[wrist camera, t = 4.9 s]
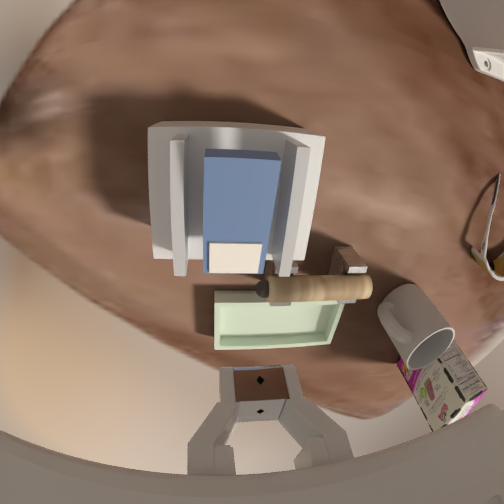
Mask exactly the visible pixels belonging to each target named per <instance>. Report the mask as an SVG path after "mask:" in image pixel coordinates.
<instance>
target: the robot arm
mask: <svg viewBox="0 0 504 504" xmlns="http://www.w3.org/2000/svg"><path fill="white" fill-rule="evenodd" d="M439 1H440V3H441V6H442V8H443V10H444V12H445V14H446V16H447V18H448V20H449V21H450V23H451V25H452V26H453V28H454V29H455V31H456V32H457V34H458V35H459V37H460V38H461V40H462V42H463V43H464V45H465V48H466V51H467V54H468V56H469V59H470V62H471V64H472V66H473V68H474V69H475V70H476V71H478V72H481V73H483V74H486V75H489V76H491V77H494V78H496V79H499V80H501V81H503V82H504V0H439ZM268 420H279V422H280V423H281V424H282V425H283V427H284V428H285V429H286V430H287V431H288V432H289V434H290V435H291V436H292V437H293V438H294V439H295V440H296V441H297V442H298V444H299V445H300V446H301V447H302V448H303V449H302V450H301V451H300V453H299V454H298V455H297V457H296V458H295V459H294V463H295V468H296V470H289V471H281V472H272V473H262V474H248V475H236V472H235V463H234V454H233V453H234V452H233V448H232V447H231V446H230V445H225V444H226V442H227V441H228V439H229V437H230V436H231V434H232V432H233V431H234V429H235V427H236V425H237V423H238V422H249V421H268ZM0 504H504V410H503V409H501V408H499V407H498V406H496V405H494V404H488V405H486V406H484V407H482V408H480V409H478V410H477V411H475V412H473V413H471V414H469V415H467V416H465V417H463V418H461V419H459V420H457V421H455V422H453V423H451V424H449V425H447V426H444V427H442V428H440V429H438V430H435V431H433V432H431V433H428V434H426V435H423V436H421V437H418V438H416V439H413V440H410V441H408V442H405V443H402V444H399V445H397V446H394V447H390V448H388V449H384V450H381V451H378V452H374V453H371V454H368V455H364V456H360V457H356V458H354V457H353V453H352V450H351V447H350V444H349V440H348V437H347V434H346V431H345V430H344V429H343V428H341V427H340V426H339V425H338V424H337V423H336V422H334V421H333V420H332V419H331V418H330V417H329V416H327V415H326V414H325V413H324V412H323V411H322V410H321V409H319V408H318V407H317V406H316V405H315V404H314V403H313V402H312V401H311V400H309V399H308V398H307V397H306V398H304V397H303V393H302V389H301V385H300V381H299V377H298V374H297V370H296V366H295V365H293V364H292V365H274V366H257V367H220V402H218V403H217V404H216V405H215V406H214V408H213V409H212V411H211V412H210V414H209V415H208V416H207V418H206V419H205V421H204V422H203V423H202V425H201V426H200V428H199V429H198V430H197V432H196V433H195V434H194V436H193V437H192V438H191V440H190V441H189V442H188V475H183V474H169V473H159V472H150V471H141V470H135V469H128V468H121V467H117V466H111V465H106V464H101V463H97V462H93V461H88V460H84V459H81V458H77V457H73V456H69V455H66V454H63V453H59V452H56V451H53V450H50V449H47V448H44V447H41V446H38V445H36V444H32V443H30V442H28V441H25V440H22V439H20V438H18V437H15V436H13V435H10V434H8V433H6V432H4V431H1V430H0Z"/></svg>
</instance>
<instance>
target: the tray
mask: <svg viewBox="0 0 504 504" xmlns="http://www.w3.org/2000/svg"><path fill="white" fill-rule="evenodd" d="M344 305H345V303H344V304H338V303H337V301H336V300H334V301H311V302H291V306H270V305H269V303H267V301H266V298H261V297H259V296H258V295H257V294H256V291H220V290H214V348H215V350H230V349H265V348H285V347H300V346H313V345H324V344H330V343H331V340H332V338H333V335H334V333H335V330H336V327H337V325H338V322H339V319H340V316H341V313H342V311H343V308H344Z"/></svg>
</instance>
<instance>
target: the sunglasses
mask: <svg viewBox="0 0 504 504" xmlns="http://www.w3.org/2000/svg"><path fill="white" fill-rule="evenodd" d="M499 181H500V173H499V175H498V176H497V178H496V182H495V188H494V193H493V198H492V202H491V206H490V209H489V212H488V219H487V225H486V230H485V234H484V237H483V240H482V242H481V253H480V252H478V251H477V250H476V249H475V248H474V247H472V248H471V251H472V254H473V255H474V258H475V259H476V261H477V262H478V264H479V265H480V266H481V267H482V268H483V269H484V270H485V271H486V272H487V273H488V274H490V275H491V276H493V277H494V278H495V279H496V280H499V281H503V280H504V252H503V253H502V254H501V255H500V256H499V257H498V258H497V259H495V260H492V261H489V263H488V261H487V258H486V252H487V243H488V234H489V228H490V223H491V218H492V213H493V210H494V207H495V203H496V198H497V193H498V187H499Z"/></svg>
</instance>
